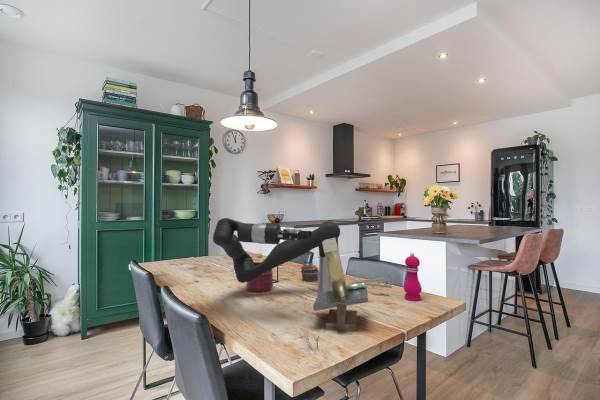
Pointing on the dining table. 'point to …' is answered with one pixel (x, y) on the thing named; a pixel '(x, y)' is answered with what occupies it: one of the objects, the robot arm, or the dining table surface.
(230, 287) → the dining table surface
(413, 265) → the pepper mill
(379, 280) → the caliper
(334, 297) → the brushed metal stamp
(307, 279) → the cupcake
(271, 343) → the dining table surface
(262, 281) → the canister
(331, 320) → the stand
